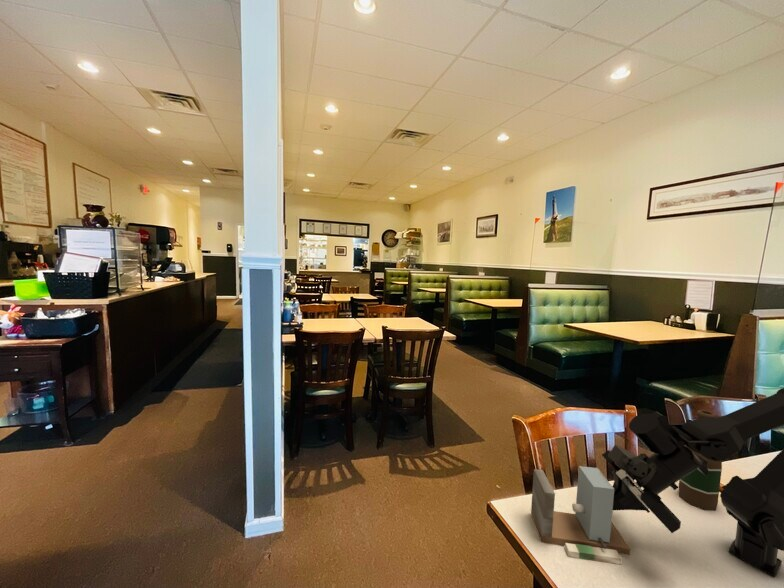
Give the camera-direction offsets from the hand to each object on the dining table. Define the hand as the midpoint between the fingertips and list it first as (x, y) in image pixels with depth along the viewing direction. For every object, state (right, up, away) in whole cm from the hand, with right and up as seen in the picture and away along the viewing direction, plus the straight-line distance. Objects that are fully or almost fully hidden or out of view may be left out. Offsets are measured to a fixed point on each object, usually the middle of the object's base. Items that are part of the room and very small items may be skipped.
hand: (604, 507), depth 69 cm
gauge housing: (-5, -7, 0) cm, 9 cm away
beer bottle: (+33, -7, +13) cm, 36 cm away
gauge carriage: (-4, -5, 0) cm, 6 cm away
